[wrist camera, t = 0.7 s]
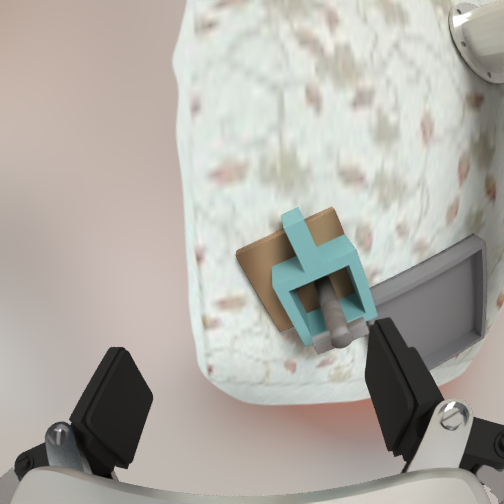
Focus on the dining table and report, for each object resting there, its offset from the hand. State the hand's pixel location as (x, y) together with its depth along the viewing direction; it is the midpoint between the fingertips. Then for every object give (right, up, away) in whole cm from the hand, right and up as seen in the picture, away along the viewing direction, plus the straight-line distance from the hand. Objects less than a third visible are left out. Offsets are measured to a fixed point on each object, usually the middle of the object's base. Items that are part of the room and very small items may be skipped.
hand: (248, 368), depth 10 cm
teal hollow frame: (+7, +3, +22) cm, 24 cm away
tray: (+27, -5, +26) cm, 38 cm away
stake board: (+6, +2, +24) cm, 25 cm away
